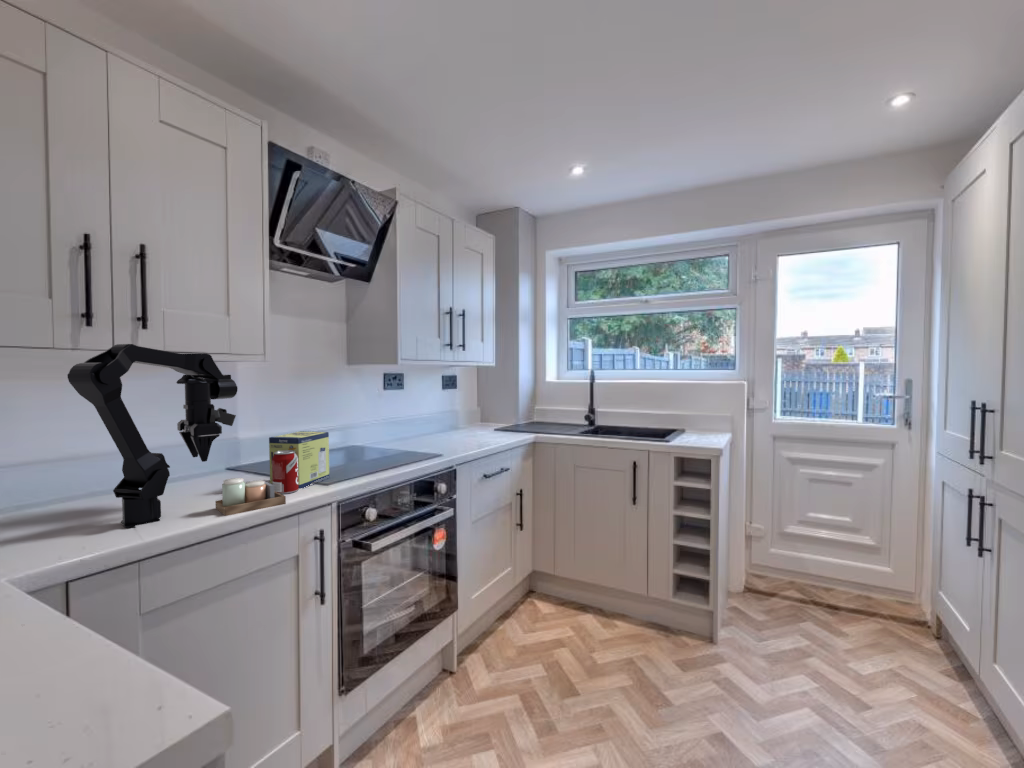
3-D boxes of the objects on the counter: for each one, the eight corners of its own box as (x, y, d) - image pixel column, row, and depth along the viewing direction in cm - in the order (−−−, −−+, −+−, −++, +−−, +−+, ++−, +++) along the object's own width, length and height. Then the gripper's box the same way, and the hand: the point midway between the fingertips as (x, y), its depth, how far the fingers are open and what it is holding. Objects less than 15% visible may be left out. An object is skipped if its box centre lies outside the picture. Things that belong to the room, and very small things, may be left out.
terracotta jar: (248, 509, 121) (247, 485, 121) (241, 505, 125) (241, 482, 125) (269, 505, 125) (268, 482, 125) (262, 501, 128) (262, 479, 128)
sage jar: (248, 503, 121) (247, 479, 121) (226, 507, 118) (225, 483, 117) (241, 499, 125) (241, 476, 125) (219, 503, 121) (219, 480, 121)
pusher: (270, 505, 124) (270, 485, 124) (261, 500, 129) (260, 481, 129) (274, 504, 125) (274, 485, 125) (265, 499, 130) (264, 481, 130)
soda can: (280, 497, 134) (279, 454, 134) (268, 493, 138) (267, 452, 138) (303, 492, 140) (302, 451, 139) (291, 488, 144) (290, 449, 143)
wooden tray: (225, 517, 116) (225, 507, 116) (215, 510, 122) (215, 500, 122) (285, 505, 126) (285, 496, 126) (273, 499, 132) (273, 490, 132)
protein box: (269, 488, 144) (267, 437, 144) (302, 477, 160) (301, 430, 159) (299, 490, 142) (298, 438, 142) (330, 478, 157) (329, 431, 157)
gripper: (243, 400, 126) (244, 459, 127) (222, 398, 140) (223, 451, 140) (193, 402, 119) (195, 465, 119) (176, 399, 132) (177, 456, 132)
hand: (199, 459), depth 128 cm, fingers open, 9 cm apart
